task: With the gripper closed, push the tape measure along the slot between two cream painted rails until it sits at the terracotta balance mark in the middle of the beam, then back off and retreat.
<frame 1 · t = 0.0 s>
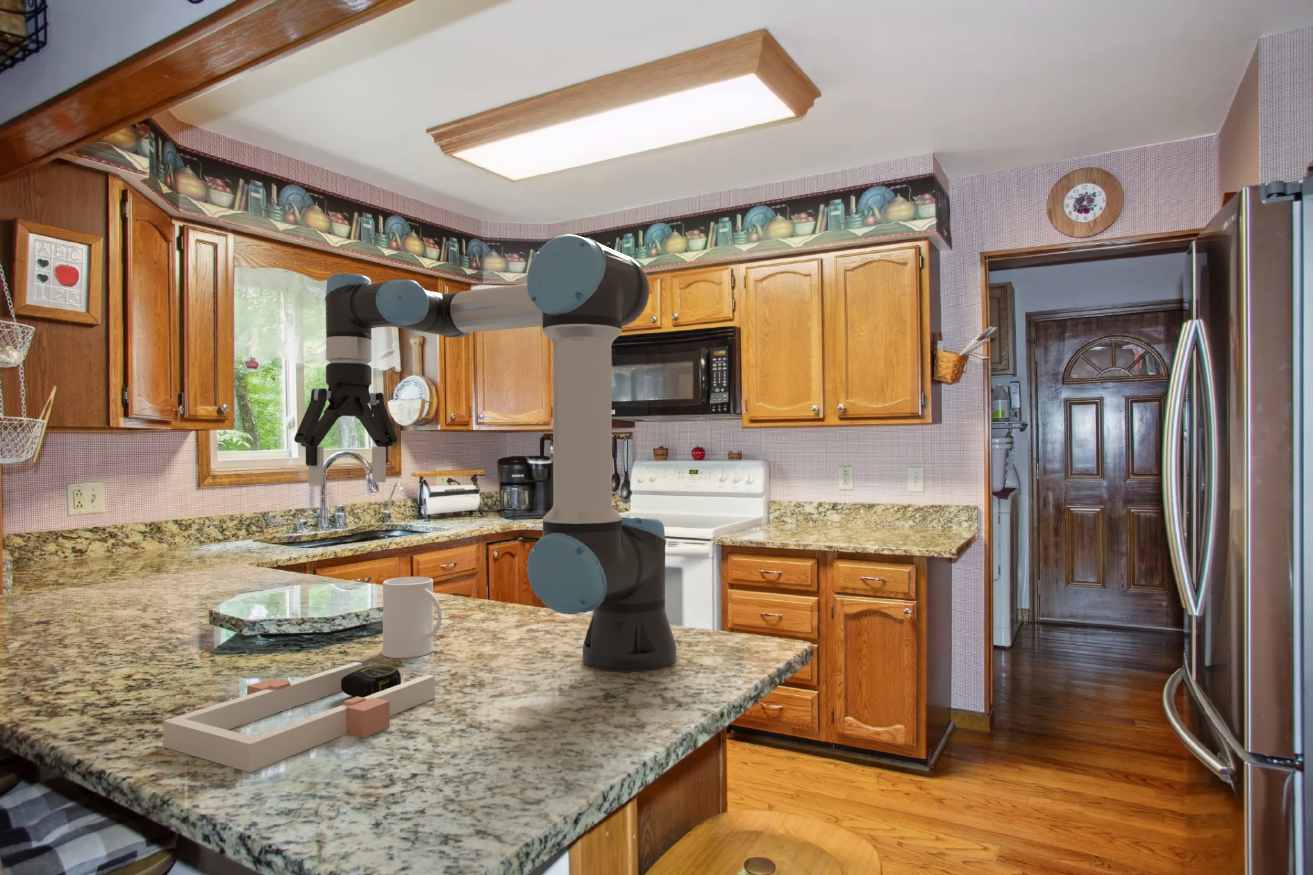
hand: (348, 484, 137), 28 cm above the countertop, fingers open, 13 cm apart
mug: (414, 654, 130), on the countertop
slotted beam: (316, 718, 99), on the countertop
tape measure: (371, 700, 107), on the countertop
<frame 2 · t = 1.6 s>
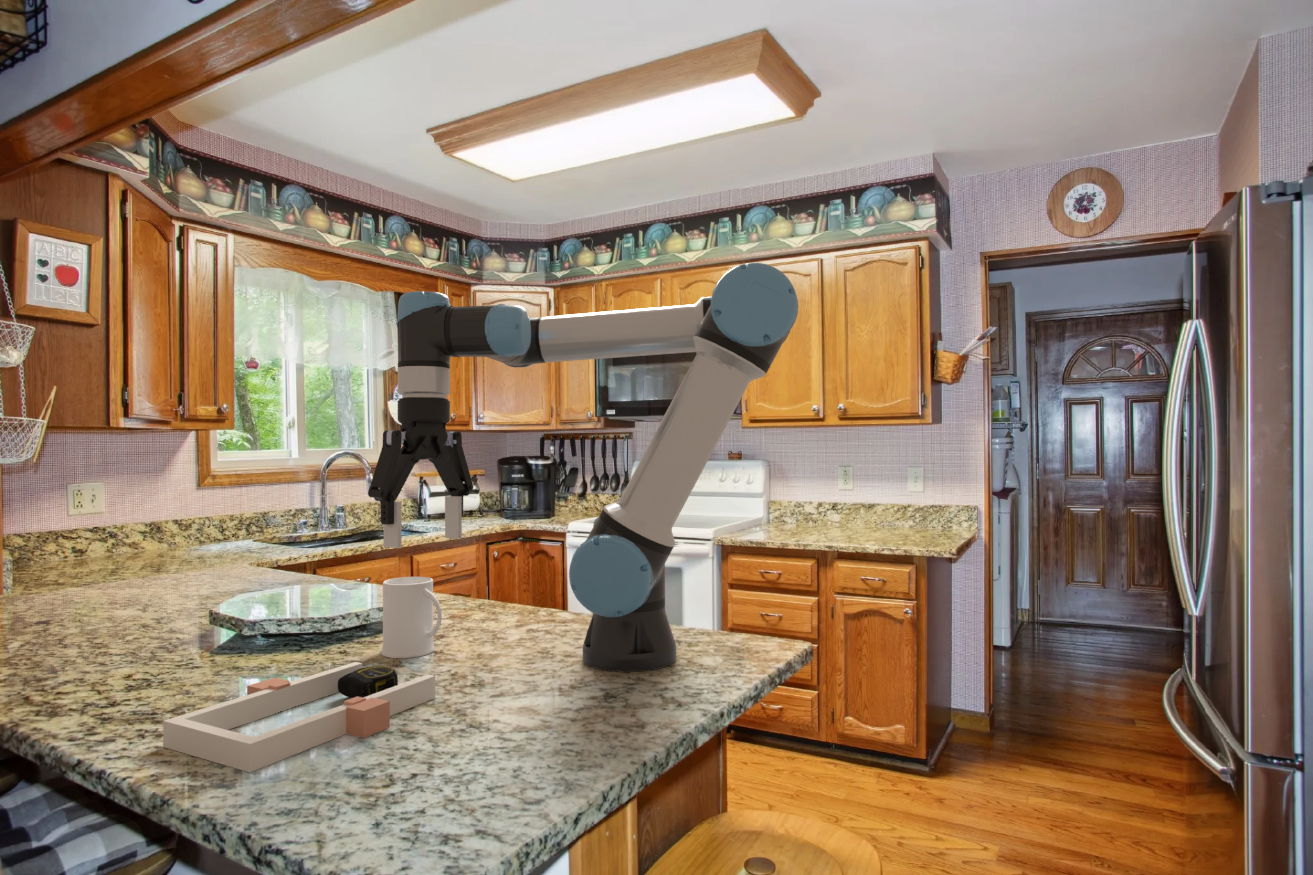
hand: (424, 542, 116), 20 cm above the countertop, fingers open, 12 cm apart
nothing on the countertop moved.
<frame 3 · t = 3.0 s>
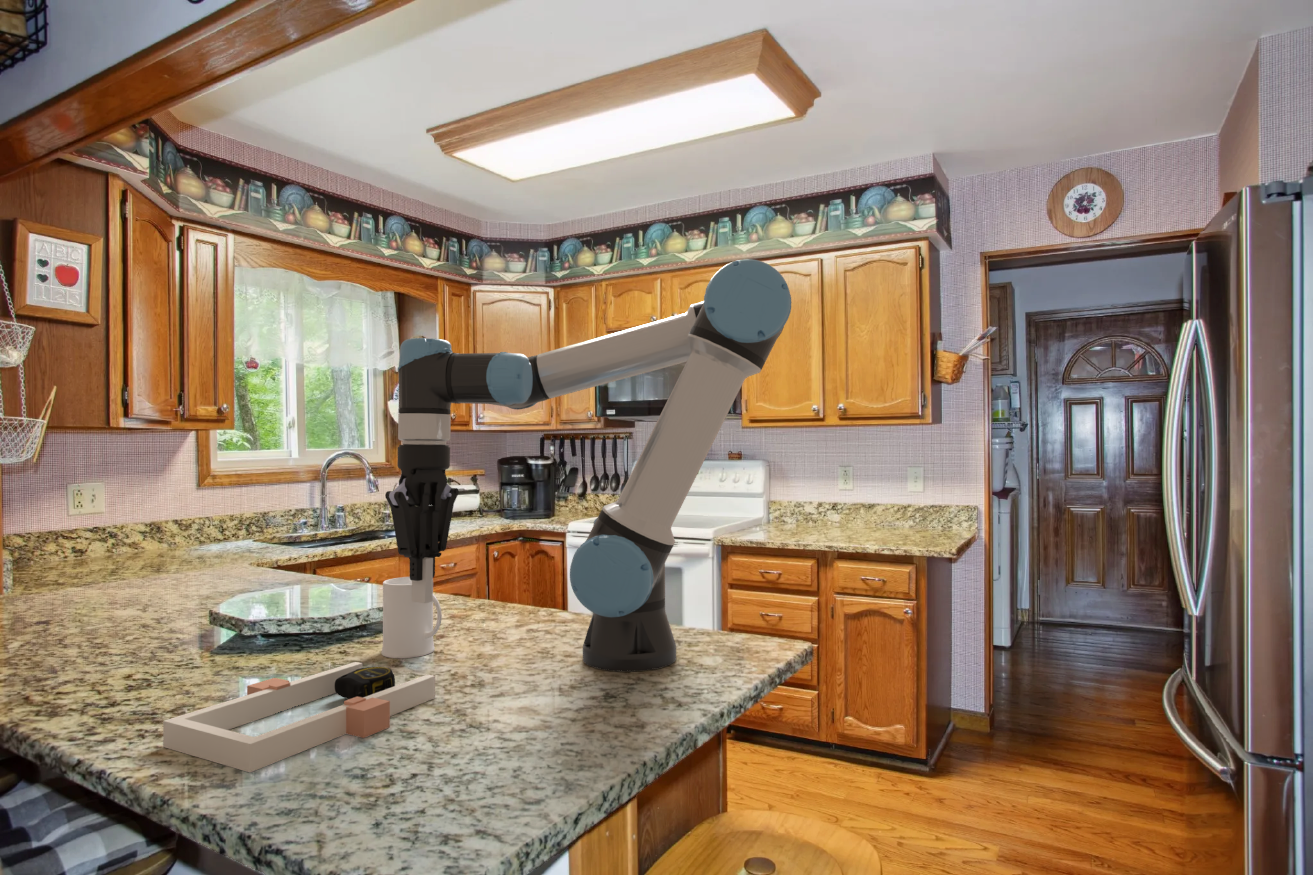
hand: (422, 601, 116), 11 cm above the countertop, fingers closed
nothing on the countertop moved.
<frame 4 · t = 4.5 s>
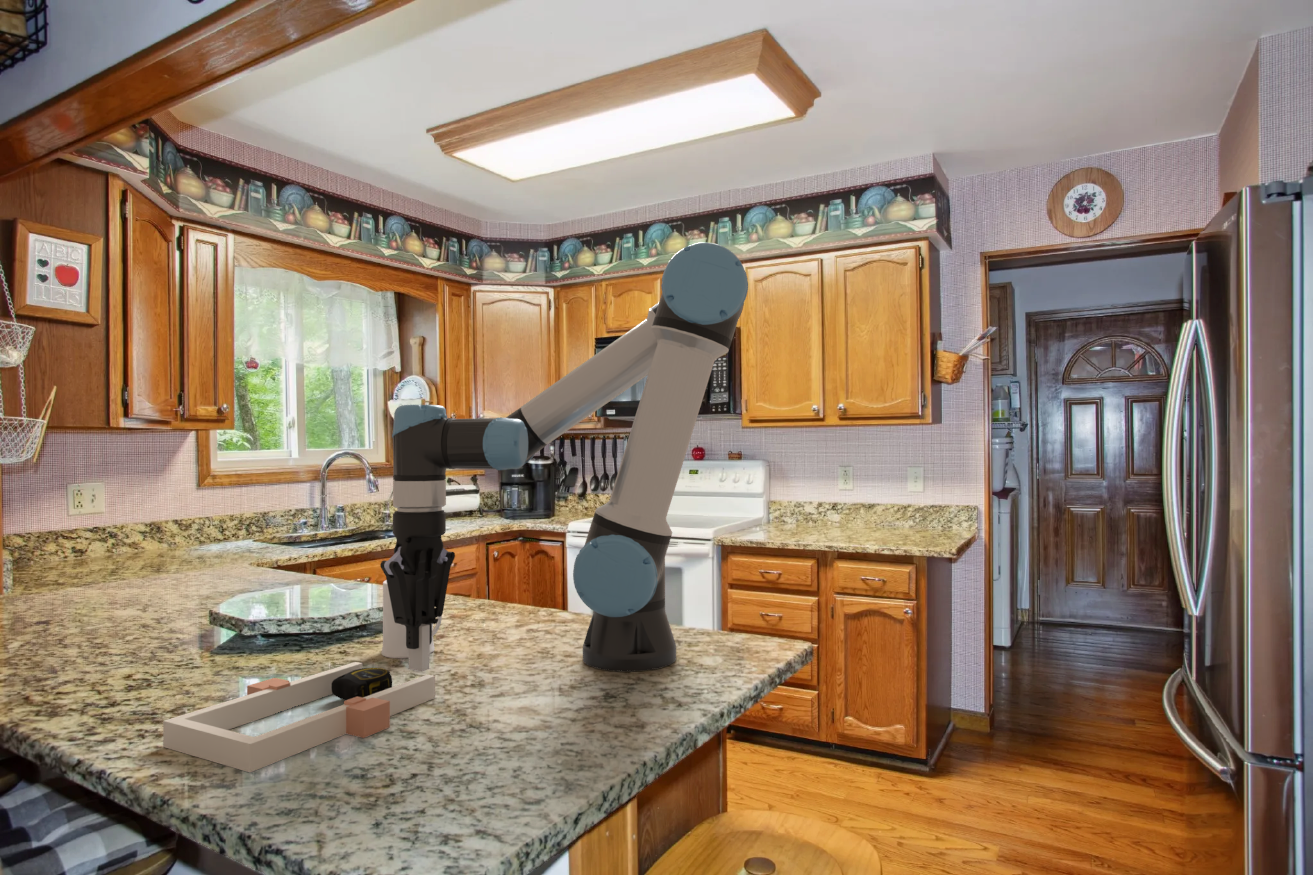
hand: (418, 668, 115), 2 cm above the countertop, fingers closed
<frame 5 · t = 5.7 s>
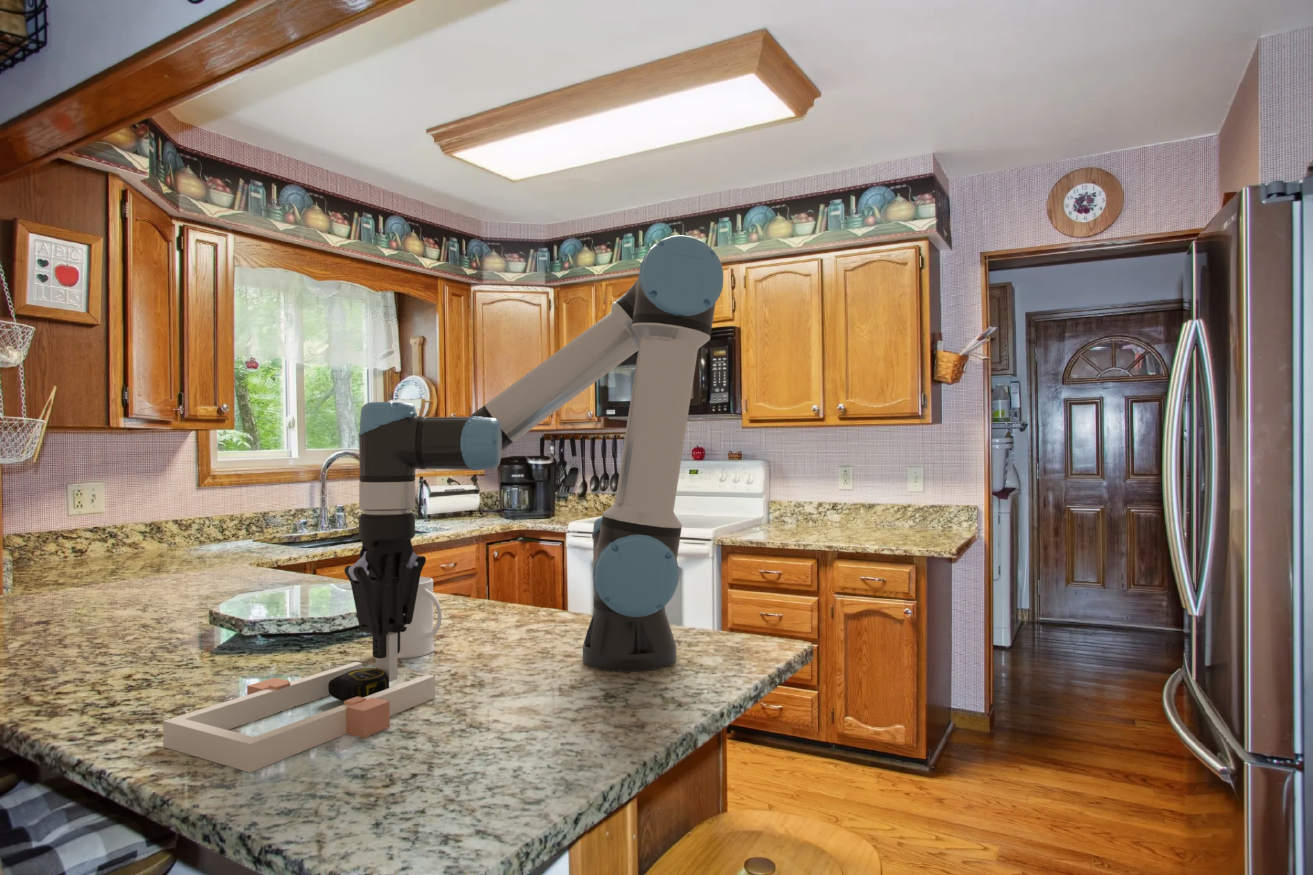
hand: (386, 679, 110), 2 cm above the countertop, fingers closed
tape measure: (358, 704, 106), on the countertop, touching gripper
everything else where it was.
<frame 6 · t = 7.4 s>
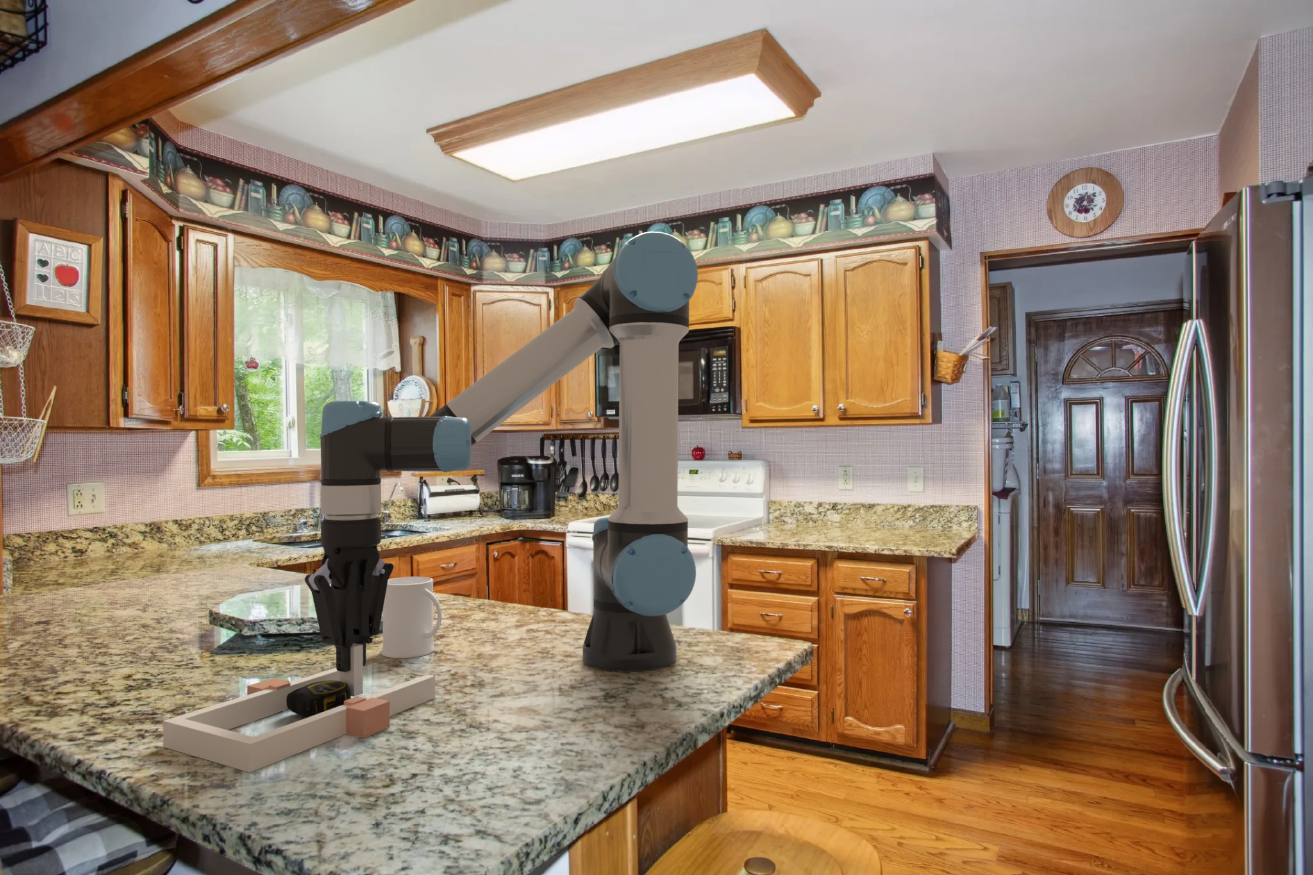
hand: (351, 693, 104), 2 cm above the countertop, fingers closed
tape measure: (317, 719, 100), on the countertop
everything else where it was.
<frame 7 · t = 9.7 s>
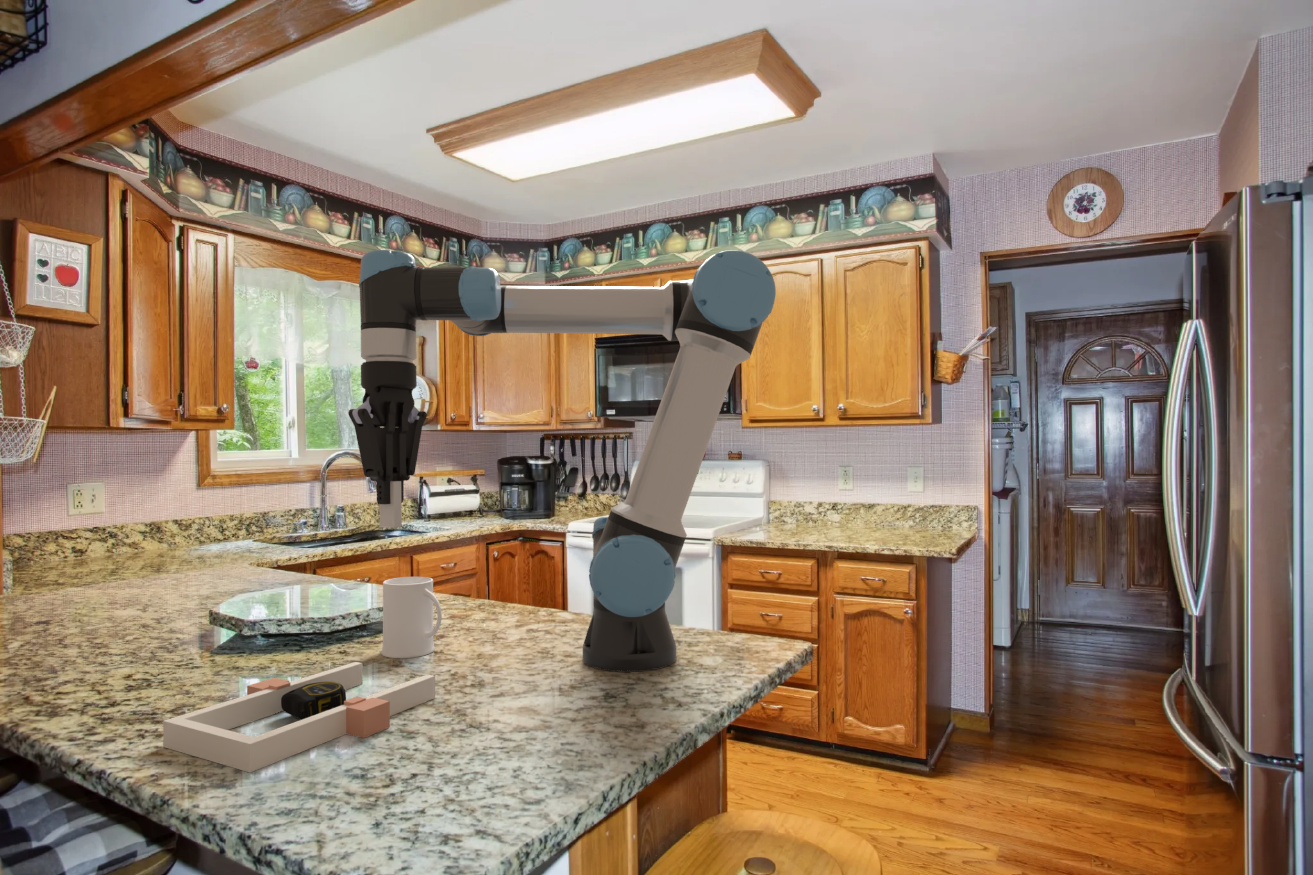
hand: (390, 526, 111), 23 cm above the countertop, fingers closed
nothing on the countertop moved.
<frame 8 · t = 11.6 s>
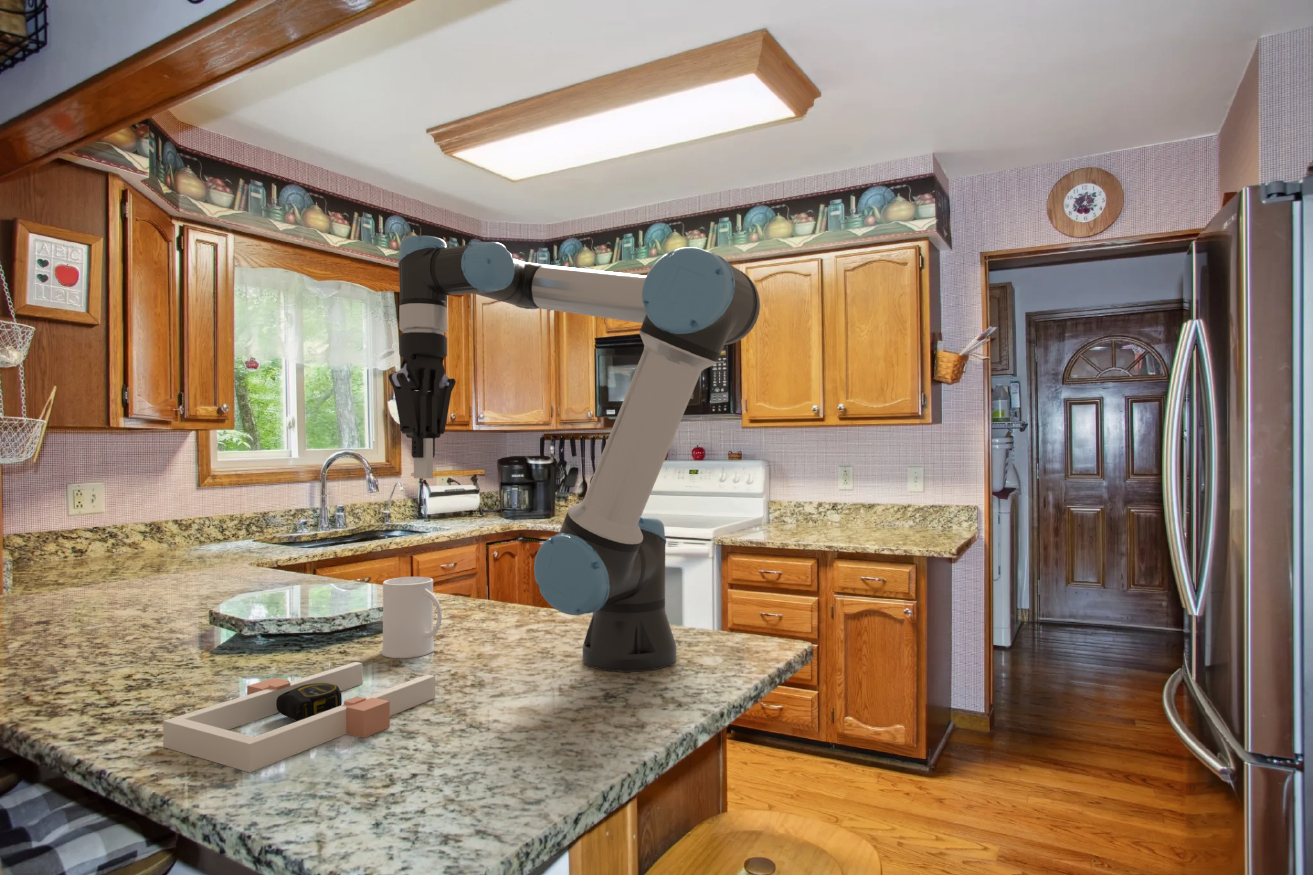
hand: (423, 478, 127), 29 cm above the countertop, fingers closed
at the end: tape measure inside the target area on the slotted beam (1.0 cm from its centre), point 0.0 cm above the slotted beam's base; tape measure moved 9.7 cm from its start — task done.
